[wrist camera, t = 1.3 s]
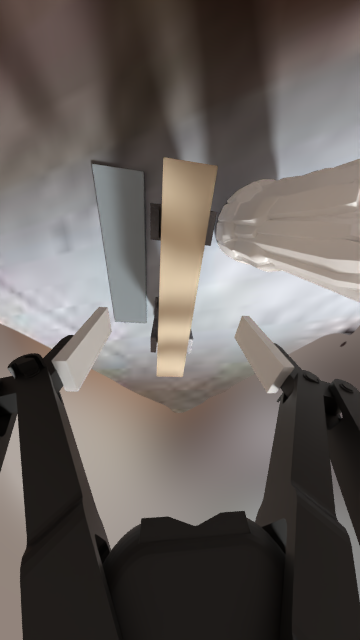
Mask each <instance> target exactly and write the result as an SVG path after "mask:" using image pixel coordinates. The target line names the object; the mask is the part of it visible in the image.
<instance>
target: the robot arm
mask: <svg viewBox="0 0 360 640" xmlns="http://www.w3.org/2000/svg"><path fill="white" fill-rule="evenodd" d="M111 332H112V331H111V325H110V319H109V312H108V308H107V307H99V308H98V309H97V310H96V311H95V312H94V313H93V314H92V316H91V317H90V318H89V319H88V320H87V321H86V322H85V323H84V325H83V326H82V327H81V328H80V329H79V330H78V331H77V333H76V334H75V335H68V336H66V337H65V338H63V339H61V340H60V341H59V342H58V344H57V345H56V346H55V347H54V348H53V349H52V350H51V351H50V352H49V353H48V354H47V355H46V356H45V357H44V358H42V357H41V355H39V354H35V353H34V354H27V355H23V356H21V357H18V358H17V359H15V360H14V361H12V362H11V363H10V364H9V366H8V370H9V371H10V373H11V374H12V375H13V376H10V377H5V378H0V471H1V467H2V464H3V461H4V457H5V454H6V451H7V447H8V444H9V440H10V437H11V434H12V430H13V427H14V423H15V420H16V416H17V413H18V425H19V438H20V451H21V464H22V477H23V491H24V504H25V517H26V531H27V547H26V550H25V553H24V555H23V557H22V562H21V567H20V588H21V608H22V629H23V640H360V602H359V594H358V587H357V580H356V573H355V567H354V560H353V553H352V546H351V542H350V538H349V535H348V533H347V531H346V529H345V528H344V527H343V526H342V525H341V524H340V523H339V522H338V520H337V518H336V514H335V504H334V494H333V485H332V475H331V465H330V460H331V463H332V466H333V469H334V472H335V475H336V477H337V481H338V483H339V486H340V489H341V492H342V495H343V498H344V501H345V504H346V507H347V510H348V513H349V516H350V519H351V521H352V524H353V527H354V530H355V533H356V536H357V539H358V542H359V545H360V392H359V391H358V390H357V389H356V388H355V387H354V386H353V385H351V384H349V383H348V382H346V381H343V380H339V379H335V380H334V381H333V382H332V383H327V382H324V381H321V380H320V379H319V378H318V377H317V376H316V375H314V374H312V373H311V372H308V371H305V370H302V369H301V368H300V367H299V366H298V365H297V364H296V363H295V362H294V361H293V360H292V359H291V357H289V355H288V354H287V353H286V352H285V351H284V350H283V349H282V348H281V347H280V346H278V345H277V344H276V343H273V342H272V341H271V340H270V339H269V338H268V337H267V336H266V334H265V333H264V332H263V331H262V330H261V329H260V328H259V327H258V325H257V324H256V323H255V322H254V321H253V320H252V319H251V318H250V316H242V318H241V320H240V323H239V326H238V329H237V332H236V334H235V339H236V341H237V343H238V344H239V346H240V348H241V349H242V351H243V353H244V354H245V356H246V358H247V360H248V361H249V363H250V365H251V366H252V368H253V370H254V372H255V373H256V375H257V377H258V378H259V380H260V382H261V383H262V385H263V387H264V389H265V390H266V392H267V393H277V392H278V390H279V389H280V388H281V389H282V391H283V393H282V395H281V396H280V397H279V399H278V400H277V402H279V401H280V406H279V412H278V417H277V424H276V429H275V435H274V441H273V447H272V452H271V458H270V464H269V471H268V476H267V482H266V488H265V493H264V499H263V502H262V504H261V507H260V509H259V511H258V514H257V517H256V521H255V522H253V521H251V520H250V519H248V518H246V515H245V511H239V512H238V511H237V512H224V513H219V514H218V515H216V516H214V517H212V518H210V519H209V520H207V521H205V522H203V523H202V524H200V525H198V526H193V525H190V524H187V523H184V522H181V521H179V520H176V519H173V518H171V517H156V518H142V519H141V524H139V525H138V526H136V527H134V528H133V529H132V530H130V531H129V532H127V534H125V535H124V536H123V537H122V538H121V539H120V540H119V541H118V543H117V544H116V545H115V546H114V548H113V549H112V550H111V548H110V545H109V542H108V539H107V536H106V533H105V530H104V527H103V524H102V521H101V519H100V517H99V514H98V512H97V509H96V506H95V503H94V500H93V496H92V493H91V490H90V486H89V483H88V480H87V477H86V474H85V470H84V467H83V464H82V461H81V458H80V454H79V451H78V449H77V445H76V442H75V439H74V435H73V432H72V429H71V426H70V422H69V419H68V416H67V413H66V410H65V407H64V403H63V400H62V397H61V394H60V392H59V391H60V389H61V388H62V387H63V386H64V389H65V391H79V389H80V387H81V386H82V384H83V382H84V380H85V378H86V377H87V375H88V373H89V371H90V370H91V368H92V366H93V364H94V362H95V361H96V359H97V357H98V355H99V353H100V352H101V350H102V348H103V346H104V344H105V343H106V341H107V339H108V337H109V335H110V334H111ZM341 412H342V415H343V418H341V416H340V413H341Z"/></svg>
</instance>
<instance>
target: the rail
mask: <svg viewBox="0 0 360 640" xmlns="http://www.w3.org/2000/svg"><path fill="white" fill-rule="evenodd" d="M217 168H218V166H215V165H208V164H202V163H196V162H190V161H183V160H177V159H171V158H165V157H163V188H162V221H161V254H160V287H159V320H158V353H157V376H162V377H183V371H184V365H185V359H186V353H187V347H188V341H189V335H190V329H191V323H192V317H193V311H194V306H195V300H196V294H197V288H198V282H199V276H200V270H201V264H202V258H203V252H204V246H205V240H206V234H207V228H208V222H209V216H210V210H211V204H212V198H213V192H214V186H215V180H216V174H217Z"/></svg>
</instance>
